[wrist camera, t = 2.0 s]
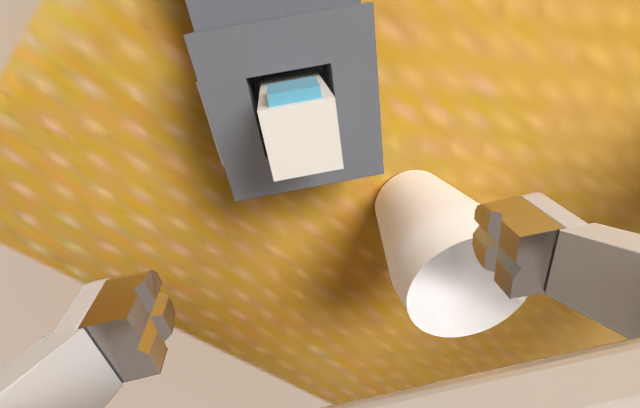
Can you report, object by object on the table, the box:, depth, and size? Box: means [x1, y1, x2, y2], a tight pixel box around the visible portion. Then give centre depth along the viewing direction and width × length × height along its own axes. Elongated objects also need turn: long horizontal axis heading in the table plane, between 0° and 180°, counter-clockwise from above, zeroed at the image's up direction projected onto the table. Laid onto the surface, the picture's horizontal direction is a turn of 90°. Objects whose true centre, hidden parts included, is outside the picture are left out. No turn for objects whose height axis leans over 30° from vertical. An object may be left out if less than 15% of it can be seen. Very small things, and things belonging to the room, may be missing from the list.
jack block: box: [183, 0, 384, 202], centre depth 21 cm, size 10×20×7 cm, turn 8°
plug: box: [257, 67, 344, 182], centre depth 20 cm, size 4×4×9 cm
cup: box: [375, 170, 528, 337], centre depth 28 cm, size 9×9×12 cm
